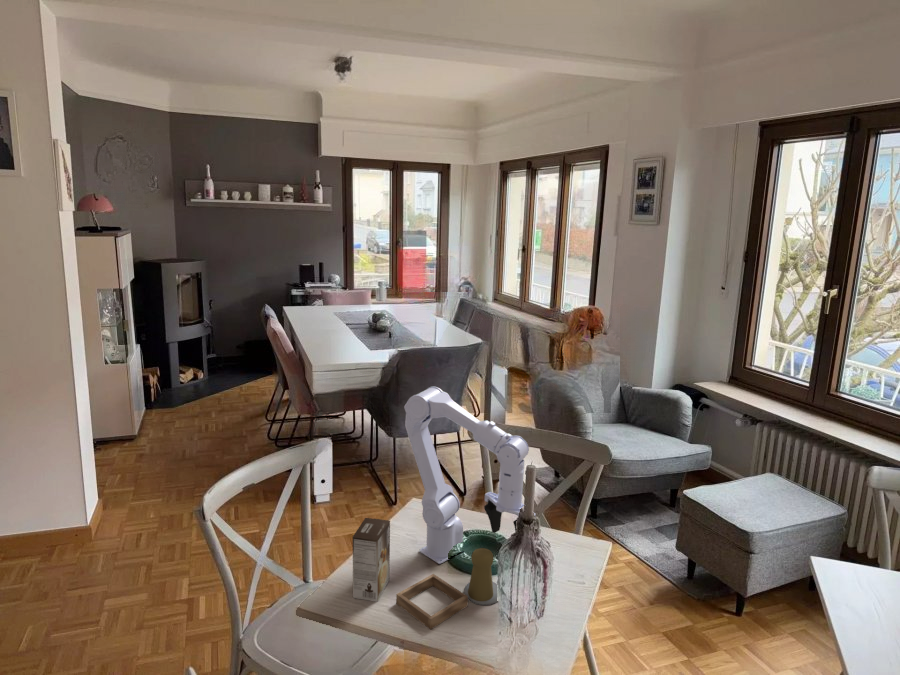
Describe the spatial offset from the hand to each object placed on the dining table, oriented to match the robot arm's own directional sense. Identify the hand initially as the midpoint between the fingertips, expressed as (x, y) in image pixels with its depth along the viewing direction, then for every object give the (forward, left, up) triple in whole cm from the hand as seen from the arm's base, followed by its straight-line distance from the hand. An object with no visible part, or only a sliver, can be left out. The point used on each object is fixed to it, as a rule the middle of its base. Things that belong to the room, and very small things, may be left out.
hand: (507, 537), depth 152 cm
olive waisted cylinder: (+10, +1, -10) cm, 14 cm away
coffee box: (+28, -18, -11) cm, 35 cm away
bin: (+21, -4, -10) cm, 24 cm away
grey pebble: (+9, +1, -10) cm, 14 cm away
